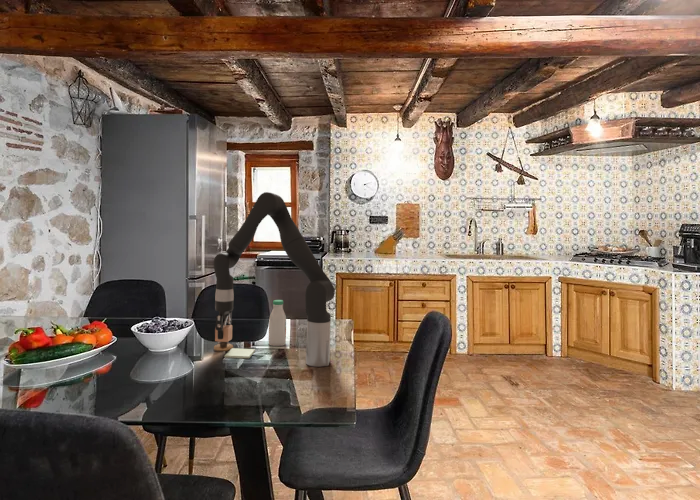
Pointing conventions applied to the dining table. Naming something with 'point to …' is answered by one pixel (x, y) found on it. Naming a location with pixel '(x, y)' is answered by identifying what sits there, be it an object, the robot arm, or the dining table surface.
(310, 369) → the dining table surface
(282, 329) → the milk bottle
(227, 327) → the salmon orange cube
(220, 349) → the post
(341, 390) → the dining table surface
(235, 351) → the pad
